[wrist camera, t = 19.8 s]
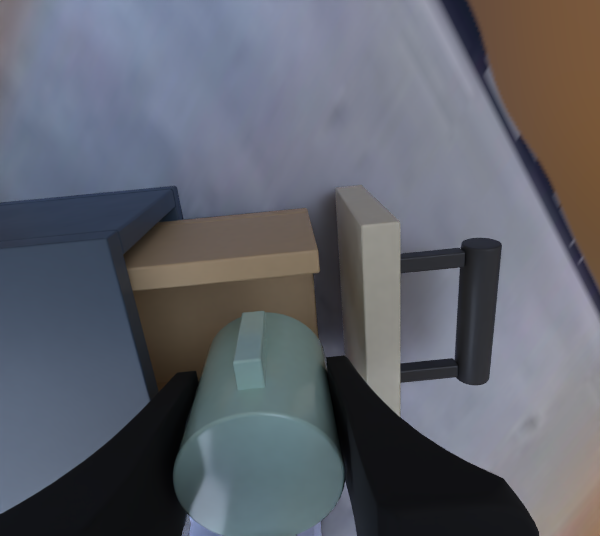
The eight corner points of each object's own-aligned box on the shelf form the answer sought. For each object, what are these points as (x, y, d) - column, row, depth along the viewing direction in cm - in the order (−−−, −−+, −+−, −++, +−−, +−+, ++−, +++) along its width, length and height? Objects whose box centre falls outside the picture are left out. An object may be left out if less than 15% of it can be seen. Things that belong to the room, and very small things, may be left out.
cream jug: (329, 416, 16) (350, 547, 11) (219, 427, 16) (193, 563, 11) (319, 283, 14) (339, 374, 9) (192, 295, 14) (146, 393, 9)
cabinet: (176, 185, 19) (106, 237, 11) (216, 387, 23) (184, 526, 15) (-115, 213, 19) (-386, 286, 11) (-23, 411, 23) (-174, 563, 15)
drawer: (463, 174, 18) (551, 206, 12) (453, 364, 22) (516, 458, 16) (88, 210, 18) (-5, 260, 12) (140, 395, 22) (88, 503, 16)
